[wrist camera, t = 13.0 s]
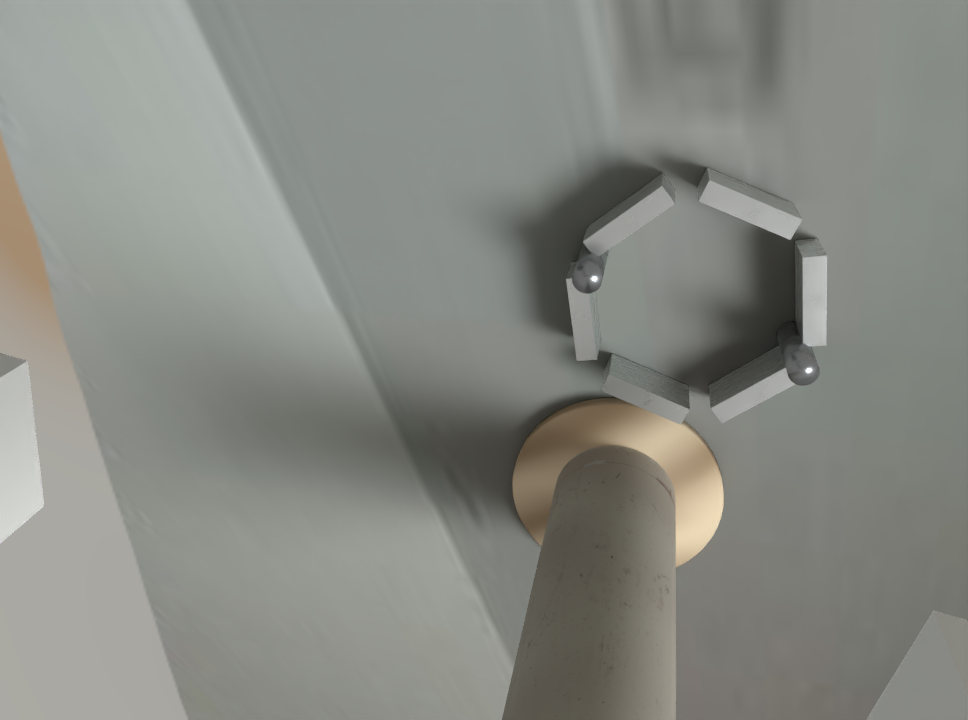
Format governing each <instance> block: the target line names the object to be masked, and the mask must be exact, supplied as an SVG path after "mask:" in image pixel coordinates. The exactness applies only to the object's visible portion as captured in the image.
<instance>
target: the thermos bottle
mask: <svg viewBox="0 0 968 720" xmlns="http://www.w3.org/2000/svg"><path fill="white" fill-rule="evenodd" d="M675 714H676V499H675V491H674V487H673V485H672V482H671V479H670V478H669V476H668V475H667V473H666V472H665V470H664V469H663V468H662V467H661V466H660V465H659V464H658V463H657V462H656V461H654V460H653V459H651V458H650V457H649V456H647V455H645V454H643V453H641V452H639V451H636V450H633V449H630V448H626V447H619V446H602V447H596V448H592V449H588V450H586V451H584V452H582V453H580V454H578V455H577V456H575V457H574V458H572V459H571V460H570V461H569V462H568V463H567V464H566V465H565V466H564V467H563V469H562V470H561V472H560V474H559V476H558V479H557V483H556V486H555V490H554V495H553V499H552V503H551V508H550V512H549V517H548V521H547V525H546V530H545V534H544V538H543V543H542V547H541V552H540V556H539V560H538V565H537V569H536V573H535V578H534V582H533V587H532V591H531V595H530V600H529V604H528V608H527V613H526V617H525V622H524V626H523V630H522V635H521V639H520V643H519V648H518V652H517V657H516V661H515V665H514V670H513V674H512V678H511V683H510V687H509V691H508V696H507V700H506V705H505V709H504V713H503V718H502V720H675Z"/></svg>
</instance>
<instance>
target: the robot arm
mask: <svg viewBox="0 0 968 720" xmlns="http://www.w3.org/2000/svg"><path fill="white" fill-rule="evenodd" d="M28 369H29V368H28V361H26V360H23V359H19V358H15V357H12V356H8V355H5V354H1V353H0V543H1V542H2V541H4V540H5V539H6V538H7V537H8V536H9V535H11V534H12V533H13V532H14V531H15V530H16V529H18V528H19V527H20V526H21V525H22V524H24V523H25V522H26V521H27V520H28V519H29V518H31V517H32V516H33V515H34V514H35V513H36V512H38V511H39V510H40V509H41V508H42V507H43V506H44V499H43V490H42V482H41V473H40V464H39V456H38V447H37V438H36V430H35V421H34V412H33V403H32V395H31V386H30V378H29V370H28ZM866 720H968V620H965V619H962V618H958V617H955V616H951V615H947V614H944V613H940V612H936V611H933V612H932V613H931V615H930V617H929V618H928V620H927V622H926V623H925V625H924V626H923V628H922V630H921V631H920V633H919V635H918V636H917V638H916V639H915V641H914V643H913V644H912V646H911V648H910V649H909V651H908V653H907V654H906V656H905V657H904V659H903V661H902V662H901V664H900V666H899V667H898V669H897V670H896V672H895V674H894V675H893V677H892V679H891V680H890V682H889V683H888V685H887V687H886V688H885V690H884V692H883V693H882V695H881V697H880V698H879V700H878V701H877V703H876V705H875V706H874V708H873V710H872V711H871V713H870V714H869V716H868V718H867V719H866Z"/></svg>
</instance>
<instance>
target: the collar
mask: <svg viewBox="0 0 968 720" xmlns="http://www.w3.org/2000/svg"><path fill="white" fill-rule="evenodd" d="M697 191H698V200H699V202H702V203H704V204H706V205H709V206H711V207H713V208H716V209H718V210H721V211H723V212H725V213H728V214H730V215H732V216H735V217H737V218H740V219H742V220H744V221H747V222H749V223H751V224H754V225H756V226H758V227H761V228H763V229H766V230H768V231H770V232H773V233H775V234H777V235H780V236H782V237H784V238H787V239H789V240H791V238H792V236H793V235H794V233H795V231H796V229H797V228H798V226H799V224H800V223H801V221H802V218H801V216H800V214H799V212H798V210H797V208H796V206H795V204H793V203H790V202H788V201H786V200H783V199H781V198H779V197H776V196H774V195H771V194H769V193H767V192H764V191H762V190H760V189H757V188H755V187H752V186H750V185H748V184H745V183H743V182H741V181H738V180H736V179H734V178H731V177H729V176H726V175H724V174H722V173H719V172H717V171H715V170H712V169H710V168H707V169H706V171H705V173H704V175H703V177H702V179H701V180H700V182H699V184H698V186H697ZM674 204H675V189H674V188H673V186H672V185H671V184H670V182H669V181H668V179H667V178H666V177H665V175H664V174H663V173H662V174H660V175H659V176H658V177H656V178H655V179H653V180H652V181H651V182H649V183H648V184H646V185H645V186H644V187H642V188H641V189H639V190H638V191H637V192H635V193H634V194H632V195H631V196H630V197H628V198H627V199H625V200H624V201H622V202H621V203H620V204H618V205H617V206H615V207H614V208H613V209H611V210H610V211H608V212H607V213H606V214H604V215H603V216H601V217H600V218H599V219H597V220H596V221H594V222H593V223H592V224H590V225H589V226H588V227H587V230H586V233H585V236H584V239H583V245H582V248H581V251H580V254H579V257H578V260H577V261H575V262H572V263H571V266H570V268H569V271H568V274H567V277H566V283H567V291H568V298H569V306H570V313H571V321H572V328H573V336H574V343H575V351H576V358H577V361H585V360H597V357H598V352H599V347H600V342H601V334H600V326H599V318H598V309H597V301H596V292H595V291H596V290H598V289H599V287H600V286H601V283H602V278H603V274H604V269H605V265H606V260H607V256H608V250H609V249H610V248H612V247H613V246H615V245H616V244H618V243H619V242H620V241H622V240H623V239H625V238H626V237H628V236H629V235H631V234H632V233H634V232H635V231H636V230H638V229H639V228H641V227H642V226H644V225H645V224H647V223H648V222H650V221H651V220H652V219H654V218H655V217H657V216H658V215H660V214H661V213H663V212H664V211H666V210H667V209H668V208H670V207H671V206H673V205H674ZM826 316H827V254H826V253H825V251H824V249H823V247H822V245H821V243H820V241H819V240H818V238H815V239H805V240H795V321H796V322H787V323H785V324H783V325H782V326H781V327H780V328H779V329H778V331H777V339H778V342H779V346H777V347H775V348H773V349H772V350H770V351H768V352H766V353H765V354H763V355H761V356H759V357H757V358H756V359H754V360H752V361H750V362H748V363H747V364H745V365H743V366H741V367H740V368H738V369H736V370H734V371H732V372H731V373H729V374H727V375H725V376H724V377H722V378H720V379H718V380H716V381H715V382H713V383H711V384H709V394H710V406H711V409H712V411H713V412H714V413H715V415H716V416H717V417H718V419H719V420H720V421H721V422H722V423H724V422H725V421H727V420H729V419H731V418H733V417H735V416H737V415H739V414H740V413H742V412H744V411H746V410H748V409H750V408H752V407H754V406H755V405H757V404H759V403H761V402H763V401H765V400H767V399H769V398H770V397H772V396H774V395H776V394H778V393H780V392H782V391H784V390H785V389H787V388H789V387H791V386H793V385H795V384H797V385H808V384H811V383H813V382H814V381H815V380H816V379H817V378H818V376H819V372H820V371H819V367H818V364H817V361H816V358H815V356H814V353H813V350H812V347H811V346H824V345H826ZM601 391H603V392H605V393H607V394H610V395H612V396H614V397H617V398H619V399H621V400H624V401H626V402H628V403H631V404H633V405H635V406H638V407H640V408H642V409H645V410H647V411H649V412H652V413H654V414H656V415H659V416H661V417H663V418H666V419H668V420H670V421H673V422H675V423H677V424H680V425H681V423H682V422H683V420H684V418H685V417H686V415H687V413H688V411H689V410H690V403H689V386H688V385H685V384H683V383H681V382H678V381H676V380H674V379H671V378H669V377H667V376H664V375H662V374H660V373H657V372H655V371H653V370H650V369H648V368H646V367H643V366H641V365H639V364H636V363H634V362H632V361H629V360H627V359H625V358H622V357H620V356H618V355H615V354H613V353H612V355H611V357H610V359H609V361H608V363H607V365H606V367H605V369H604V375H603V381H602V387H601Z"/></svg>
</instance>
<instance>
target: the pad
mask: <svg viewBox="0 0 968 720" xmlns="http://www.w3.org/2000/svg"><path fill="white" fill-rule="evenodd" d="M602 446H619V447H626V448H630V449H633V450H636V451H639V452H641V453H643V454H645V455H647V456H649V457H650V458H651V459H653V460H654V461H656V462H657V463H658V464H659V465H660V466H661V467H662V468H663V469H664V470H665V472H666V473H667V475H668V476H669V478H670V479H671V482H672V485H673V487H674V491H675V499H676V567H678V566H680V565H682V564H684V563H685V562H687V561H688V560H690V559H691V558H692V557H694V556H695V555H696V554H697V553H699V552H700V551H701V550H702V549H703V548H704V547H705V545H706V544H707V543H708V542H709V540H710V539H711V538H712V536H713V534H714V533H715V531H716V529H717V527H718V524H719V521H720V519H721V515H722V510H723V495H724V494H723V485H722V477H721V472H720V469H719V466H718V463H717V460H716V458H715V456H714V454H713V452H712V450H711V449H710V447H709V446H708V445H707V443H706V442H705V440H704V439H703V438H702V437H701V436H700V435H699V434H698V432H697V431H696V430H694V429H693V428H692V427H691V426H690V425H689V424H687V423H686V422H685V421H683V422H682V423H681V425H680V424H677V423H675V422H673V421H670V420H668V419H666V418H663V417H661V416H659V415H656V414H654V413H652V412H649V411H647V410H645V409H642V408H640V407H638V406H635V405H633V404H631V403H628V402H626V401H624V400H621V399H619V398H600V399H591V400H587V401H582V402H578V403H575V404H572V405H569V406H567V407H564V408H562V409H560V410H558V411H557V412H555V413H553V414H551V415H550V416H549V417H547V418H546V419H544V420H543V421H542V422H541V423H540V424H539V425H538V426H537V427H535V428H534V430H533V431H532V432H531V433H530V435H529V436H528V437H527V439H526V441H525V442H524V444H523V446H522V448H521V450H520V453H519V456H518V458H517V462H516V465H515V469H514V474H513V486H512V488H513V497H514V502H515V506H516V509H517V512H518V514H519V516H520V519H521V521H522V522H523V524H524V526H525V527H526V529H527V531H528V532H529V533H530V534H531V536H532V537H533V538H534V539H535V540H536V541H537V542H538V543H539V544H540V545H541V546H542V543H543V538H544V534H545V530H546V525H547V521H548V517H549V512H550V508H551V503H552V499H553V495H554V490H555V486H556V483H557V479H558V476H559V474H560V472H561V470H562V469H563V467H564V466H565V465H566V464H567V463H568V462H569V461H570V460H571V459H572V458H574V457H575V456H577V455H578V454H580V453H582V452H584V451H586V450H588V449H592V448H596V447H602Z"/></svg>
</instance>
